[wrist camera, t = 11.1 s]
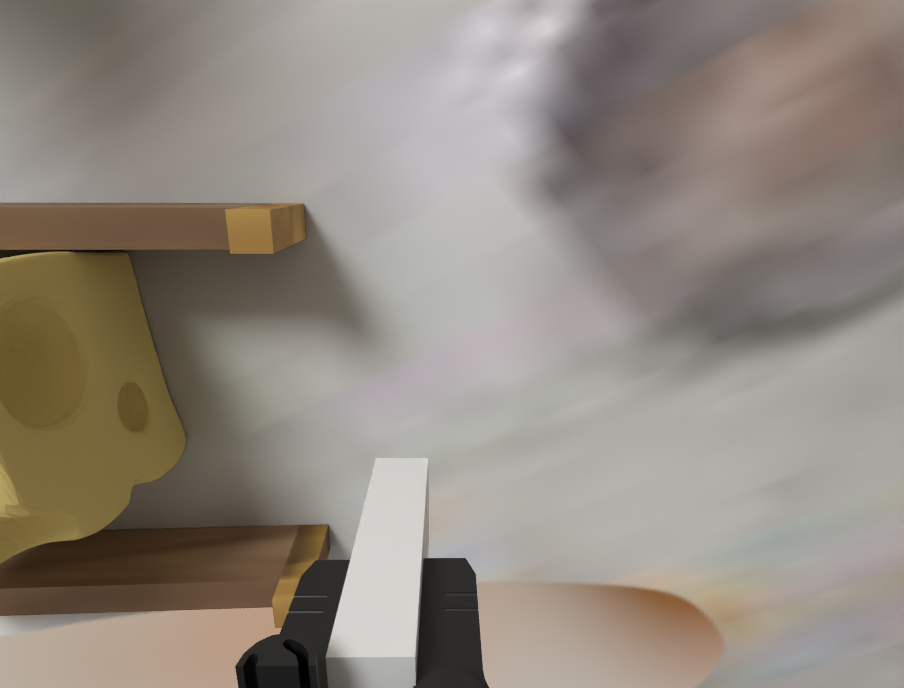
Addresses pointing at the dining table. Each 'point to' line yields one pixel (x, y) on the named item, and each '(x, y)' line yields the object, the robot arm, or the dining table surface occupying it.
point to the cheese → (76, 397)
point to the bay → (159, 550)
